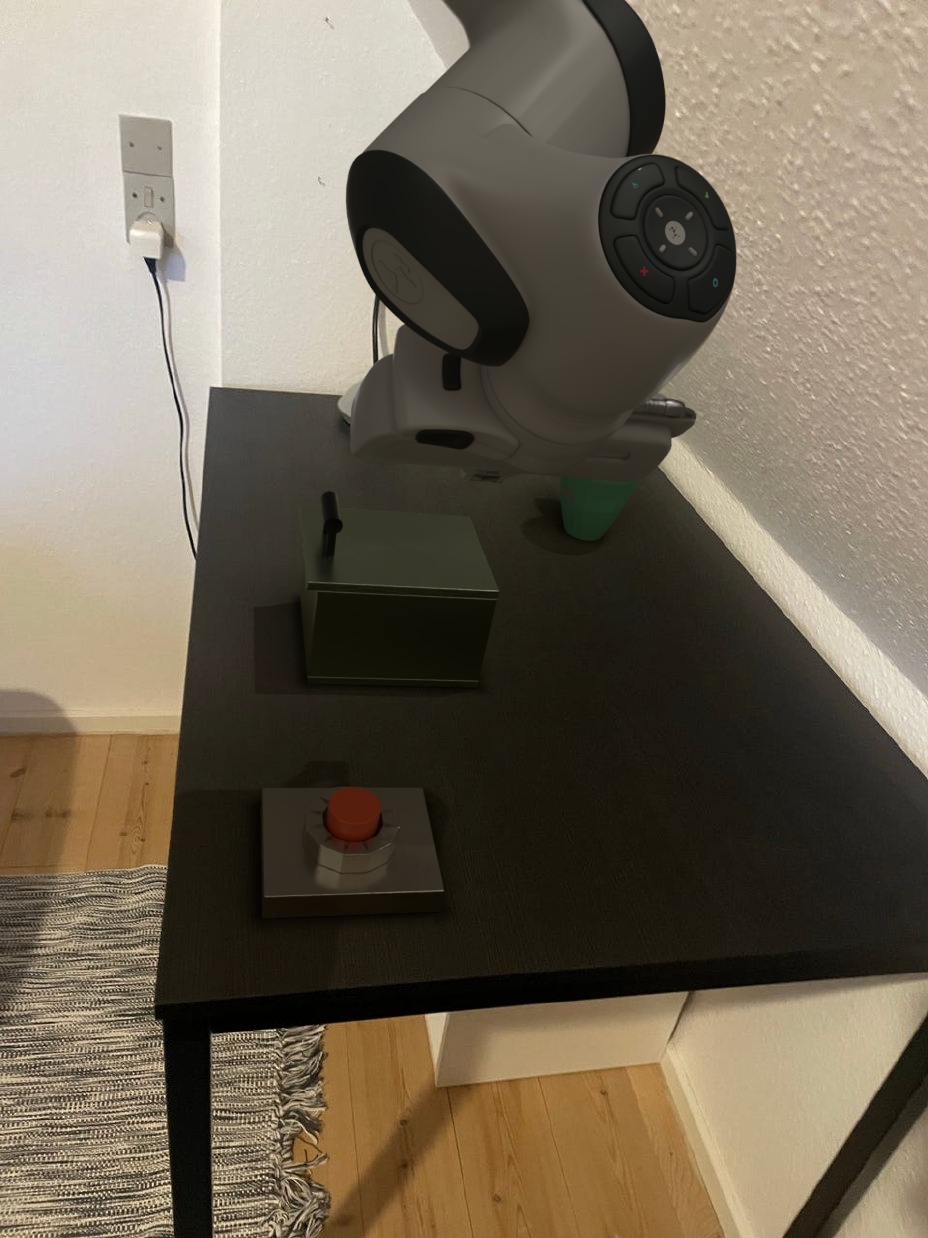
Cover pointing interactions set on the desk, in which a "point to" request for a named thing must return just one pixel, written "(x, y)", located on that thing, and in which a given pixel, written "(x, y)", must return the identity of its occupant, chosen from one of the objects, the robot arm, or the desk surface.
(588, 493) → the mug
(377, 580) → the box lid
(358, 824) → the button
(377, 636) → the dark green hollow box
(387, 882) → the switch block
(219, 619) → the desk surface
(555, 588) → the desk surface
